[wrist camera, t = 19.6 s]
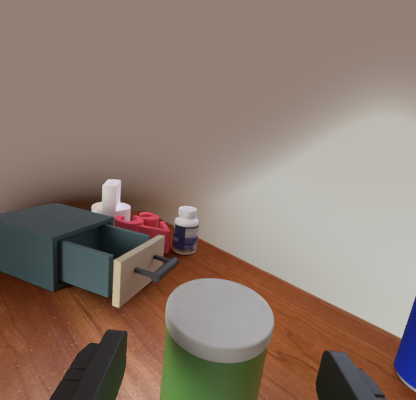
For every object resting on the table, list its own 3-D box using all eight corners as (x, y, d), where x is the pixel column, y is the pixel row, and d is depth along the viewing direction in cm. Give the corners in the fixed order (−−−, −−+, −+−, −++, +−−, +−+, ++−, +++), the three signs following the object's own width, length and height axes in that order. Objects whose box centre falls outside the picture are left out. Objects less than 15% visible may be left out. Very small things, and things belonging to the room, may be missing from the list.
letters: (183, 247, 58) (186, 227, 57) (147, 259, 50) (148, 236, 49) (146, 229, 67) (147, 211, 65) (110, 237, 59) (111, 216, 58)
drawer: (183, 278, 43) (187, 241, 42) (145, 318, 33) (149, 270, 31) (100, 253, 49) (101, 219, 47) (45, 280, 38) (44, 238, 37)
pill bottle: (168, 246, 57) (171, 205, 55) (189, 244, 60) (193, 204, 58) (178, 257, 53) (182, 212, 51) (200, 253, 56) (205, 211, 54)
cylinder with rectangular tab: (127, 236, 61) (129, 187, 58) (87, 234, 59) (87, 184, 56) (130, 223, 69) (133, 180, 67) (95, 222, 67) (96, 178, 65)
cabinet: (112, 259, 49) (114, 216, 47) (53, 292, 37) (52, 237, 35) (56, 242, 53) (55, 202, 51) (-13, 266, 42) (-17, 216, 40)
